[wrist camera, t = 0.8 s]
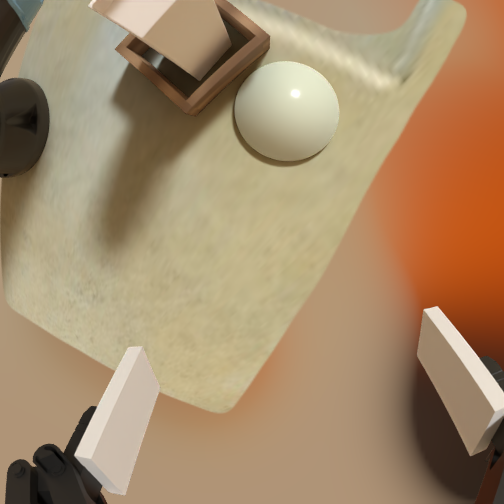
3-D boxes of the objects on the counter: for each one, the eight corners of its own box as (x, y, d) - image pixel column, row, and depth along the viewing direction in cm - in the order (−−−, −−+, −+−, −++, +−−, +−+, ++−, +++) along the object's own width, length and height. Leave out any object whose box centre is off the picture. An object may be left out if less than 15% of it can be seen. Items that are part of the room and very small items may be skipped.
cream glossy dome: (213, 109, 35) (212, 109, 34) (287, 43, 32) (288, 42, 31) (285, 181, 37) (285, 182, 37) (358, 116, 34) (359, 116, 34)
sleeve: (131, 57, 32) (114, 49, 28) (200, -8, 29) (192, -25, 25) (195, 116, 35) (185, 113, 30) (269, 48, 32) (269, 35, 27)
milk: (163, 56, 33) (61, -7, 12) (196, 20, 31) (125, -75, 10) (200, 82, 34) (120, 26, 13) (234, 45, 32) (193, -49, 11)
